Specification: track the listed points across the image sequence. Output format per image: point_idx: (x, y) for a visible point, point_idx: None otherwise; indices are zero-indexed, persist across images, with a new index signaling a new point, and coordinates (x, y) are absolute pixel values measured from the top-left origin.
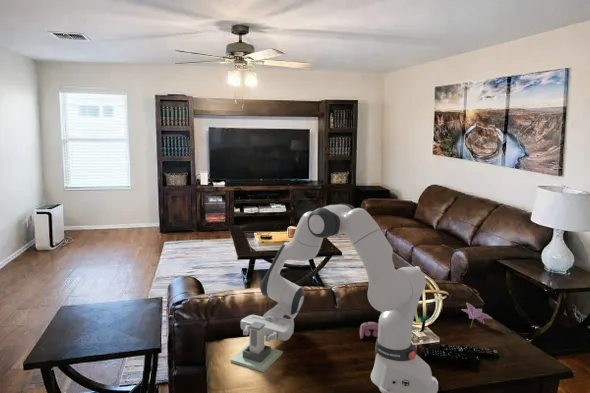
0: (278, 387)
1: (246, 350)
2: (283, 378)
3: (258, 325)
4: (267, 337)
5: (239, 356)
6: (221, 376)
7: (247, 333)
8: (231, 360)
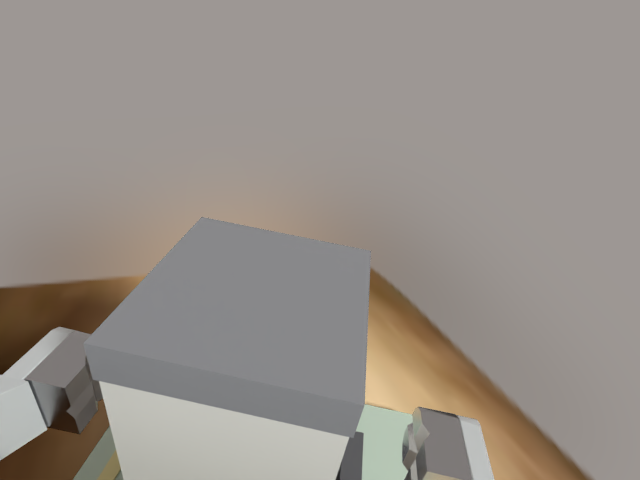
0: (74, 281)
1: (340, 464)
2: (22, 341)
3: (230, 277)
4: (80, 333)
5: (382, 471)
6: (370, 307)
7: (413, 461)
8: (407, 418)
